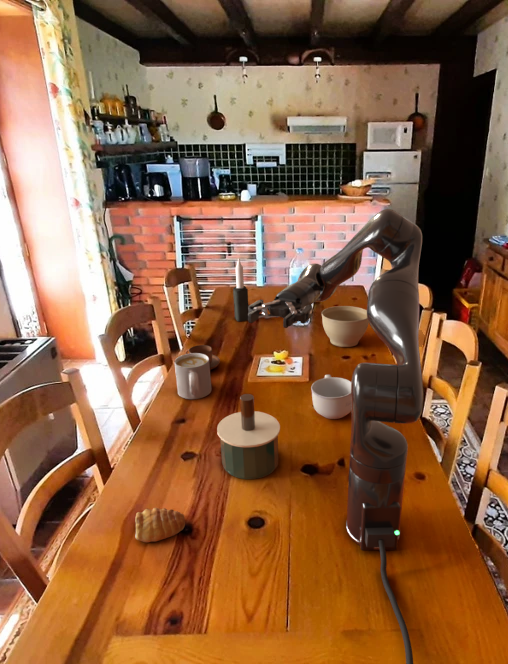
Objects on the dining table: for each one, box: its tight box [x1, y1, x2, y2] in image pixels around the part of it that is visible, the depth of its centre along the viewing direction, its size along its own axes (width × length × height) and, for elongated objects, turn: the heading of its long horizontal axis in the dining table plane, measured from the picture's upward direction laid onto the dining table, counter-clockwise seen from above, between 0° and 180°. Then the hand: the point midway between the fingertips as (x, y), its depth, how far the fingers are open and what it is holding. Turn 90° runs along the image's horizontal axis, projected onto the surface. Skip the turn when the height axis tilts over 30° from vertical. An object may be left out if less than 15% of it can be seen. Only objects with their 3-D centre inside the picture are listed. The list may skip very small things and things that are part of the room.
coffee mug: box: [174, 352, 213, 400], centre depth 139 cm, size 13×10×10 cm
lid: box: [216, 393, 281, 447], centre depth 105 cm, size 14×14×9 cm
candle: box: [232, 258, 249, 322], centre depth 192 cm, size 5×5×25 cm
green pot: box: [219, 435, 279, 480], centre depth 108 cm, size 13×13×8 cm
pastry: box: [134, 507, 186, 543], centre depth 91 cm, size 9×7×4 cm
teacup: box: [310, 374, 352, 420], centre depth 126 cm, size 14×11×8 cm
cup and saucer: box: [185, 344, 221, 371], centre depth 156 cm, size 12×12×6 cm
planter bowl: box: [321, 305, 370, 348], centre depth 167 cm, size 16×16×11 cm
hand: (267, 321), depth 107 cm, fingers open, 8 cm apart
